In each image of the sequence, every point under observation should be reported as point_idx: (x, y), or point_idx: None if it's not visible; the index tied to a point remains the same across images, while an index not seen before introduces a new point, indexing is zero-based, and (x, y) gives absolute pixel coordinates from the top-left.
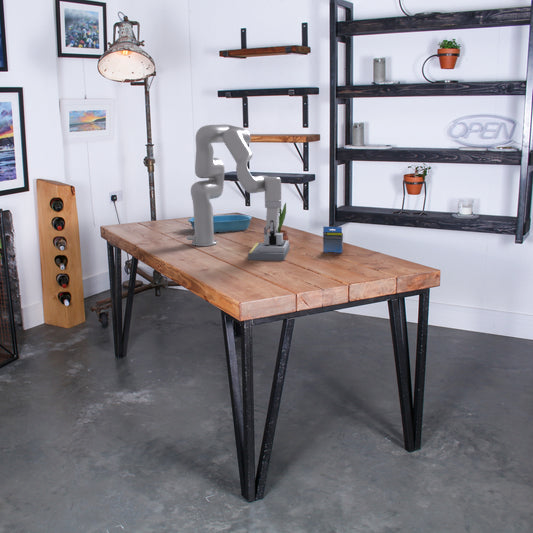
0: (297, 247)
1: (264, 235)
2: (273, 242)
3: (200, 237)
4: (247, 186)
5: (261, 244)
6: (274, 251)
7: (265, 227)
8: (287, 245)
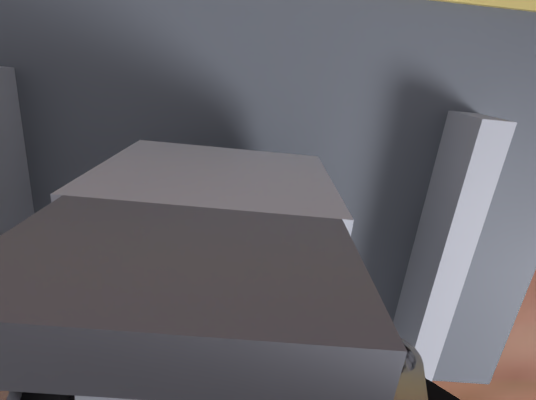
0: (513, 391)
1: (60, 196)
2: None
3: None
4: None
5: (485, 67)
6: None
7: (129, 361)
8: None
